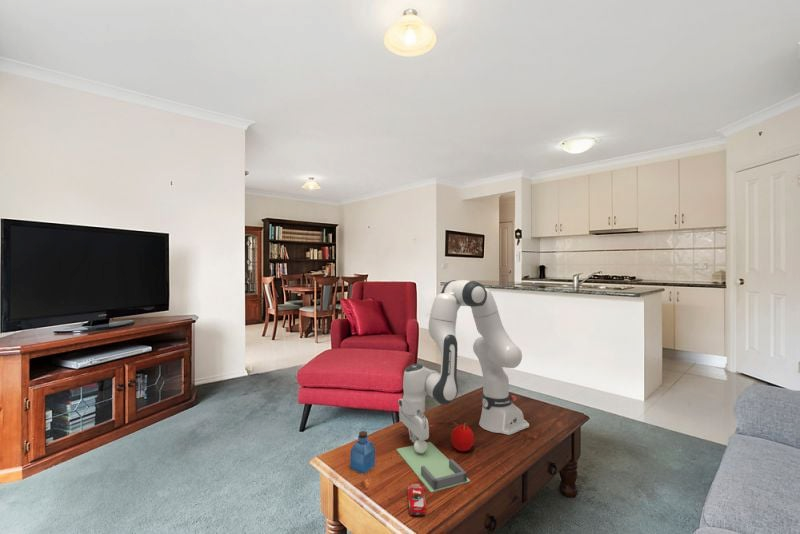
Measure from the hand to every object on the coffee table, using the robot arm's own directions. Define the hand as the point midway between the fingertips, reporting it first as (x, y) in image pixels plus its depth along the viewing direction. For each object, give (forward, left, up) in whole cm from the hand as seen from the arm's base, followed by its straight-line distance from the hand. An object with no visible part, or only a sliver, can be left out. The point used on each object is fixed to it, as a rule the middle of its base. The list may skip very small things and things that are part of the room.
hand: (413, 441), depth 139 cm
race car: (+14, +30, -2) cm, 33 cm away
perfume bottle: (+23, +6, -2) cm, 24 cm away
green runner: (0, +14, -2) cm, 14 cm away
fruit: (-17, +9, -2) cm, 19 cm away
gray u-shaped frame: (0, +23, -2) cm, 23 cm away
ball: (0, +6, +1) cm, 6 cm away
